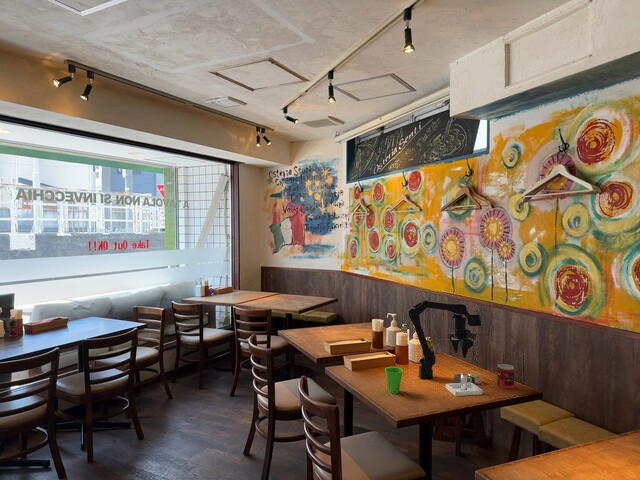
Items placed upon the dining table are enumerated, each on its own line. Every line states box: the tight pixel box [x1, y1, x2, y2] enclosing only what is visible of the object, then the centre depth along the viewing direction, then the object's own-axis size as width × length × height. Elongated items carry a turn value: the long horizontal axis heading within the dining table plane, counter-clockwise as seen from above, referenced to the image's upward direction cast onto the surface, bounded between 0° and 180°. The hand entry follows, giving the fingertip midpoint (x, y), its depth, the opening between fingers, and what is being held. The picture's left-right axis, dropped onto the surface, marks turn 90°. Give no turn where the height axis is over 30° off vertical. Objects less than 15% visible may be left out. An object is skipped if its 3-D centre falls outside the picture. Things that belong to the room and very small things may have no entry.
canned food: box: [496, 363, 515, 391], centre depth 208 cm, size 8×8×11 cm
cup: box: [384, 366, 404, 395], centre depth 203 cm, size 9×9×11 cm
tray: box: [445, 382, 484, 397], centre depth 202 cm, size 14×11×2 cm
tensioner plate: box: [452, 371, 485, 386], centre depth 214 cm, size 13×9×5 cm
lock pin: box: [460, 372, 468, 391], centre depth 202 cm, size 3×3×9 cm
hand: (460, 355), depth 221 cm, fingers open, 9 cm apart
